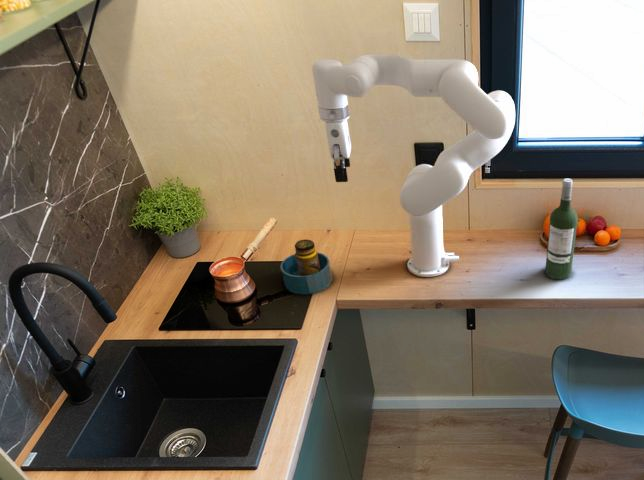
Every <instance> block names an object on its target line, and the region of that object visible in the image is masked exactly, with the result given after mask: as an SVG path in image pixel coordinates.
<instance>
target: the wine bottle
mask: <svg viewBox="0 0 644 480" xmlns="http://www.w3.org/2000/svg"><path fill="white" fill-rule="evenodd" d="M573 183H574V182H573V179H572V178H567V177H566V178H564V179H563V180H562V184H561V185H562V188H561V193H560V201H559V206H557V207H556V208H555V209H553V211H552V212H551V213H550V216H549V224H548V236H547V246H546V247H547V248H546V259H545V268H544V269H545V274H546V276H548V278H551V279H554V280H565V279H568V278H569V277H570V276H571V275H572V269H573V263H574V262H573V261H574V253H575V246H576V245H575V244H576V236H577V227H578V221H579V220H578V219H579V218H578V217H579V216H578V214H577V212H576V211H575V210H574V209H573V207H572V206H571V205H572V191H573V190H572V189H573V185H574V184H573Z"/></svg>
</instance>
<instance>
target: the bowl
mask: <svg viewBox="0 0 644 480" xmlns="http://www.w3.org/2000/svg"><path fill="white" fill-rule="evenodd" d="M317 253H318V259H319V264H320V269H321V271H320V272H317V273H315V274H312V275H307V276H296V275H300V274H299V270H298V265H297V261H296V256H295V253H293V254H290V255H289V256H287V257H285V258H284V259H283V260H282V261H281V263H280V272H281V275H282V280H283V283H284V287H285V289H286V290H287V291H288V292H290V293H293V294H296V295H312V294H316V293H320V292H321V291H323V290H325V289H327V288H328V287H329V286H330V285H331V284H332V282H333V273H332V267H331V262H330V259H329V257H328V256H327V255H326V254H325V253H321V252H319V251H317Z"/></svg>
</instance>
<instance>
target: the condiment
mask: <svg viewBox="0 0 644 480" xmlns="http://www.w3.org/2000/svg"><path fill="white" fill-rule="evenodd" d="M294 249H295V253H294V254H295V256H296V261H297V265H298V270H299V274H300V275H296V276H307V275H312V274H315V273H317V272H320V271H321V269H320V264H319V259H318V253H317V252H318V250H317V249H316V247H315V242H314V241H313V240H311V239H299V240H298V241H297V242H296V243H295V244H294Z"/></svg>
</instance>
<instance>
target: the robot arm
mask: <svg viewBox="0 0 644 480" xmlns="http://www.w3.org/2000/svg"><path fill="white" fill-rule="evenodd" d="M311 67H312V68H311V69H312V76H313V82H314V89H315V95H316V102H317V106H318V107H317V108H318V114H319V119H320V120H321V121H322V122H324V124H325V132H326V137H327V145H328V150H329V155H330V158H331V159H332V160H333V172H334V179H335V182H336V183H347V182H349V179H348V178H349V177H348V171H347V168H350V167H351V161H350V158H351V153H352V142H351V141H352V140H351V136H350V130H349V129H350V128H349V123H348V120H349V119H350V108H349V101H348V97H352V98H363V97H365V96H366V95H368V93H369V92H370V91H371V90H372V88H374V86H396V87H401V88H403V89H405V90H406V91H407V92H408V93H409V94H410V95H412V96H413V97H415V98H416V97H417V98H420V97H421V98H422V97H423V98H426V97H427V98H429V97H430V98H441V99H442V101H443V102H444V103H445V104H446V105H447V107H449V108H450V109H451V110H452V111H453V112H454V113H455V114H456V115H457V116H458V117H459V118H460V119H462V120H463V121H464V122H465V123H466V124H467V125H469V126H470V127H471V128H472V129H473V130H472V131H471V132H469V133H468V134H467V135H465V136H464V137H463V138H461V139H460V140H458V141H457V142H455V143H453V144H452V145H450V146H449V147H446V148H445V149H444V150H443V151H441V152H440V154H439V155H438V157H437V158H436V161H435V162H434V165H431V164H427V163H421V164H418V165H416V166H415V167H413V168H412V169H411V171H409V173H408V175H407V176H406V179H405V181H404V183H403V184H402V185H403V186H402V188H401V190H400V193H399V203H400V205H401V207H402V209H403V210H404V212H405V213H407V214H408V220H409V223H408V225H409V234H410V235H409V236H410V245H411V246H410V247H411V248H410V250H411V257H410V258H409V259H408V261H407V270H408V271H409V272H410V273H411V274H413V275H415V276H417V277H423V278H433V277H438V276H441V275H443V274H444V273H446V272H447V271H448V269H449V267H450V263H460V255H455V252H447V251H445V247H444V227H443V226H444V225H443V205H445V204H447V203H448V202H451V200H453V199H454V198H456V197H457V196H459V195H460V194H461V193H462V192H463V190H464V189H465V187H467V184H468V182H469V179H470V177H471V175H472V174H473V172H475V171H476V170H477V169H479V168H480V167H482V166H483V165H485V164H486V163H488V162H489V161H490V160H492V159H493V158H494V157H496V156H497V155H498V154H499V153H500V152H501V151H502V150H503V149H504V147H505V146H506V145H507V144H508V141H509V140H510V138H511V137H512V133H513V130H514V128H515V123H516V107H515V102H514V100H513V99H512V96H511V95H510V94H509V93H508V92H506V91H504V90H499V89H497V90H494V91H491V92H489V93H486V92H485V91H484V90H483V89H482V88H481V87H480V86H479V73H478V71H477V67H476V66H475V65H474V64H473V63H472V62H471V61H468V60H466V59H465V60H464V59H425V58H424V59H421V58H420V59H419V58H417V59H416V58H410V57H404V56H400V55H395V54H363V55H358V56H357V57H355V58H354V59H353V60H352V61H350V63H348V64H345V65H343V64H342V62H340V61H339V60H337V59H333V58H322V59H318V60H316V61H314V62H313V64H312V66H311Z"/></svg>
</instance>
